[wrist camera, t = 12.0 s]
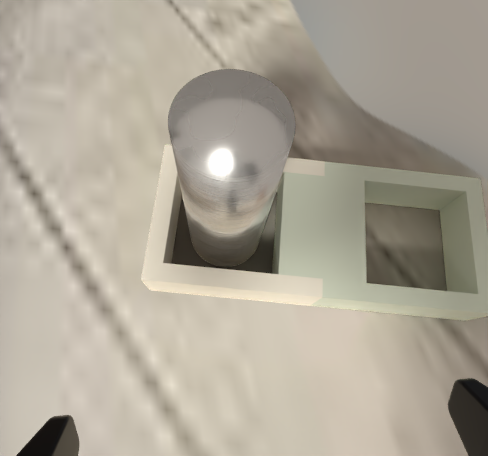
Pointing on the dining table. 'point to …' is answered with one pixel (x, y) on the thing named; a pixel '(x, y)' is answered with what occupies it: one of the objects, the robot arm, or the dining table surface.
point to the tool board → (336, 242)
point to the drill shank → (229, 159)
